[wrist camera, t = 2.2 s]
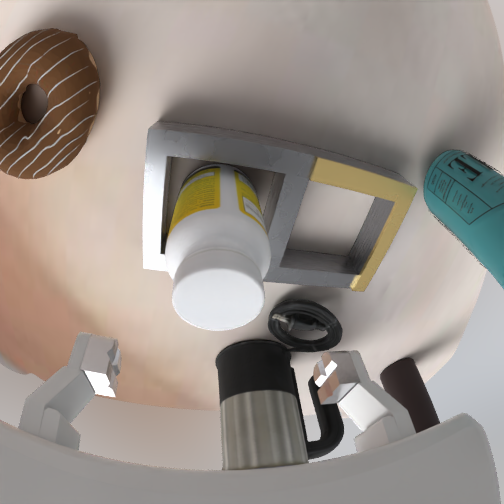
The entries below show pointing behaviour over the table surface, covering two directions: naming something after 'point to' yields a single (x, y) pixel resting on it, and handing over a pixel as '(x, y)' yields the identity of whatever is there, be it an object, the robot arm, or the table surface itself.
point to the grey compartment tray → (279, 199)
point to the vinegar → (410, 393)
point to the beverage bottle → (469, 205)
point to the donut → (59, 102)
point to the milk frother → (275, 394)
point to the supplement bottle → (217, 249)
